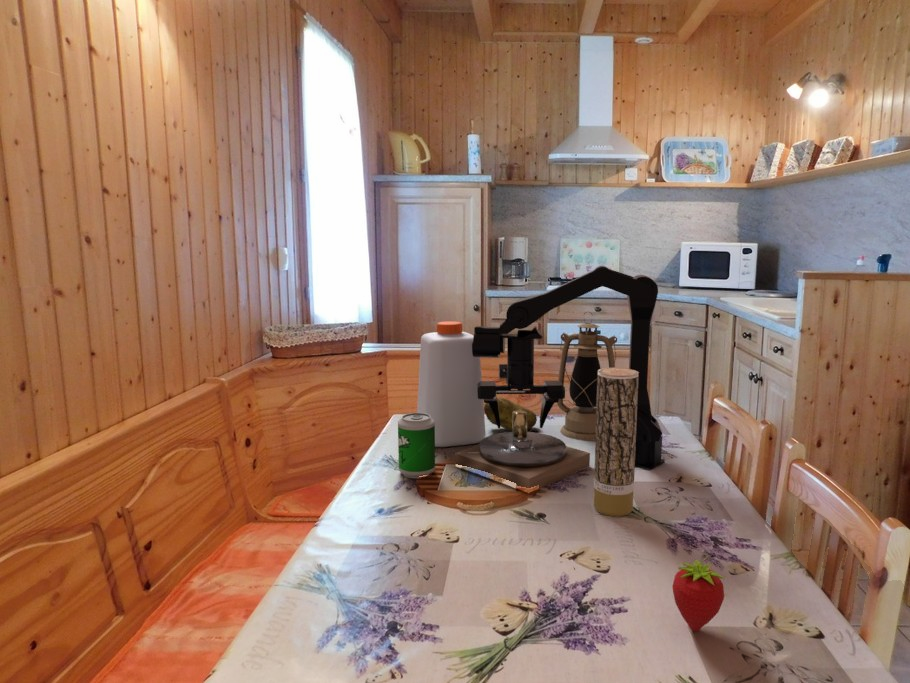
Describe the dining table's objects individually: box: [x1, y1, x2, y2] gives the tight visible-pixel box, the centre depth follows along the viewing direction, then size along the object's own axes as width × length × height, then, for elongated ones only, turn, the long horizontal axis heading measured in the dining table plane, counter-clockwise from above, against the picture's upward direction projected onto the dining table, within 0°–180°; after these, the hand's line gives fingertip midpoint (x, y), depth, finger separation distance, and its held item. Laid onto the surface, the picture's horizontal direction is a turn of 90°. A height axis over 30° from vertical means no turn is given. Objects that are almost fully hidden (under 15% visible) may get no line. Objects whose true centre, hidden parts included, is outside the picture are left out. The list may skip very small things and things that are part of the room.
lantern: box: [556, 311, 618, 441], centre depth 154 cm, size 14×12×30 cm
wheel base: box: [454, 444, 591, 490], centre depth 133 cm, size 20×20×3 cm
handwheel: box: [479, 410, 567, 467], centre depth 132 cm, size 18×18×6 cm
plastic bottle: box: [416, 320, 487, 448], centre depth 151 cm, size 15×15×28 cm
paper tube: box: [593, 367, 639, 517], centre depth 110 cm, size 7×7×25 cm
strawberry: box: [671, 556, 726, 632], centre depth 77 cm, size 6×8×10 cm
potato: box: [484, 397, 538, 432], centre depth 158 cm, size 8×13×8 cm, turn 74°
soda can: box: [397, 412, 436, 479], centre depth 129 cm, size 8×8×12 cm
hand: (520, 427), depth 139 cm, fingers open, 9 cm apart
